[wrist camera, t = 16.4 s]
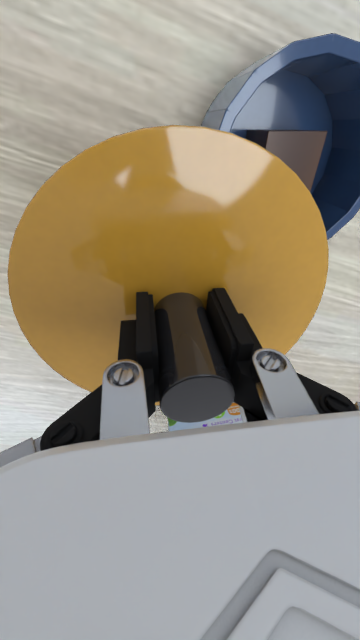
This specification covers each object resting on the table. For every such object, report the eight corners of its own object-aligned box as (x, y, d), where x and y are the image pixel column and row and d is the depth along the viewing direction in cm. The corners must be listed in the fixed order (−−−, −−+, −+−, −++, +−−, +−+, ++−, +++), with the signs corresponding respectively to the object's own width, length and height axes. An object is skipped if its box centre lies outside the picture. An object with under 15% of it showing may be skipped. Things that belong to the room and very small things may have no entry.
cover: (13, 374, 15) (-44, 493, 10) (23, 26, 7) (-207, -173, 2) (231, 402, 20) (262, 492, 15) (380, 211, 12) (546, 269, 7)
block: (239, 188, 25) (256, 199, 21) (246, 129, 22) (268, 130, 18) (284, 188, 25) (308, 198, 22) (297, 129, 22) (328, 130, 19)
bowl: (172, 210, 26) (181, 231, 20) (236, 16, 18) (275, -26, 13) (282, 249, 30) (312, 275, 25) (370, 104, 22) (439, 98, 17)
